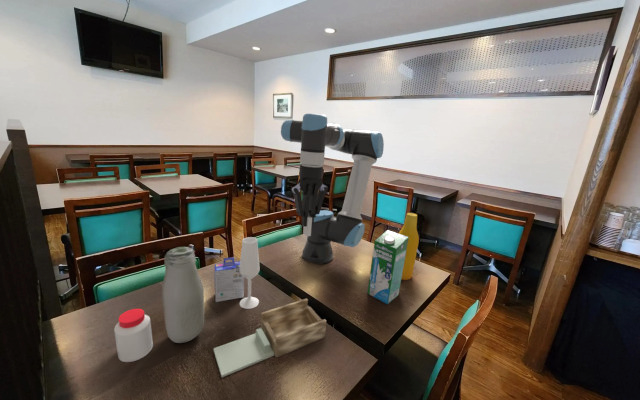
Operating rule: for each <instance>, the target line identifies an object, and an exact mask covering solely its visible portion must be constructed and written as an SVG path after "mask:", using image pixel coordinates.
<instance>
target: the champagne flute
mask: <svg viewBox="0 0 640 400" xmlns="http://www.w3.org/2000/svg"><path fill="white" fill-rule="evenodd" d="M258 243H259V242H258V239H257V238H256V237H252V236H250V237H249V236H248V237H244V238H243V239H242V242H241V251H240V260H239V261H240V269H239V271H240V274H241V275H242V276H243V277H244V279H246V280H247V297H243V298H242V299H241V300H240V301H239V306H240V307H241V308H243V309H246V310H249V309H254V308H256V307H257V306H258V305H259V303H260V300H259V299H258V298H257V297H254V296H252V280H253V279H254V278H255V277H256V276H257V275H258V274H259V272H260V271H261V270H260V269H261V268H260V256H259V246H258Z"/></svg>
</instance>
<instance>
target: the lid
mask: <svg viewBox="0 0 640 400" xmlns="http://www.w3.org/2000/svg"><path fill="white" fill-rule="evenodd" d="M212 350H213V353H214V357H215V360H216V363H217V367H218V370H219V374H220V377H221V378H224V377H226V376H228V375H229V376H230V375H231V374H234V373H236V372H238V371H241V370H243V369H246V368H248V367H251V366H253V365H256V364H257V363H259V362H262V361H264V360H267V359H268V358H272V357H274V356H275V355H274V352H273V350H272V348H271V346H270V343H269V341H268V339H267V338H266V336H265V334H264V332H263V330H262V329H261V327H259V328H257V329H255V333H253V334H250V335H247V336H244V337H241V338H238V339H236V340H233V341H231V342H228V343H224V344H223V345H220V346H216V347H214V348H213V349H212Z"/></svg>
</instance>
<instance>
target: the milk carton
mask: <svg viewBox="0 0 640 400" xmlns="http://www.w3.org/2000/svg"><path fill="white" fill-rule="evenodd" d="M398 233H399V232H398ZM398 233H397V232H395V231H391V230H389V229H386V230H385V231H384V232H383V233H382V234H381V235H380V236H379V237H377V238H376V239H375V240H374V245H373V249H372V257H371V265H370V272H369V278H368V287H367V295H369V296H372V297H373V298H375V299H377V300H379V301H381V302H382V303H384V304H385V305H389V304H390V303H391V302H392V301H394V299H396V298H397V297H398V296H399V293H400V288H401V283H402V282H401V281H402V279H401V278H402V272H403V267H404V261H405V256H406V250H407V244H408V239H409V237H407V236H404V235H401V234H398Z"/></svg>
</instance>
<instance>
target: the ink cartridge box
mask: <svg viewBox="0 0 640 400" xmlns="http://www.w3.org/2000/svg"><path fill="white" fill-rule="evenodd" d="M239 269H240V260H239V261H235V257H233V256H232V257H231V256H230V257H224V258H223V263H217V264H216V263H215V264H214V291H215V292H214V293H215V295H214V296H215V303H219V302H224V301H229V300H235V299H241V298H242V299H243V298H245V295H244V293H245V285H244V284H245V277H243V276H242V275H241V274H240V271H239Z"/></svg>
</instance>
